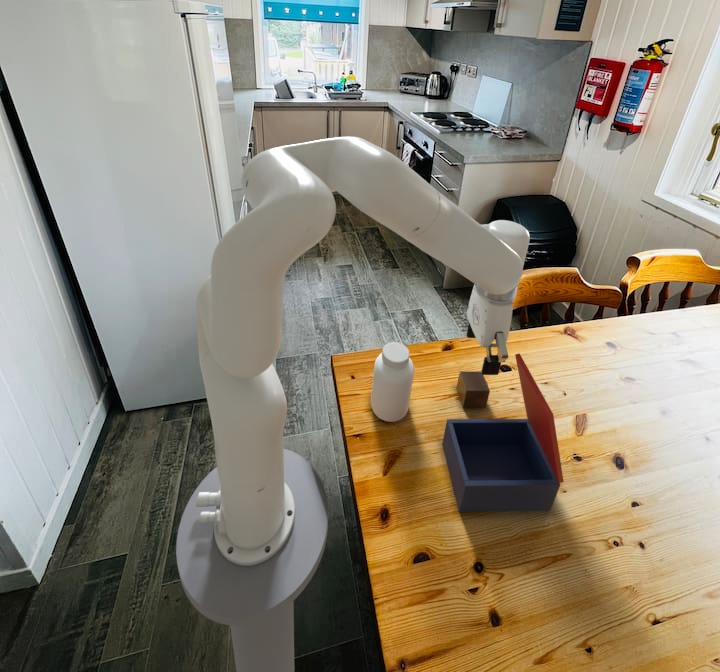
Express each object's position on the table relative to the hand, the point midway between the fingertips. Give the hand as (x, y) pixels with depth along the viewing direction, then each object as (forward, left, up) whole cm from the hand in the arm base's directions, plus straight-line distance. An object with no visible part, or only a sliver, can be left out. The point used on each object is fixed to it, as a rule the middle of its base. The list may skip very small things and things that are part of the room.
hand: (481, 354), depth 80 cm
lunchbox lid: (+4, -16, +2) cm, 16 cm away
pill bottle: (-18, -2, -13) cm, 22 cm away
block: (0, 0, -13) cm, 13 cm away
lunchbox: (-1, -16, -13) cm, 20 cm away
